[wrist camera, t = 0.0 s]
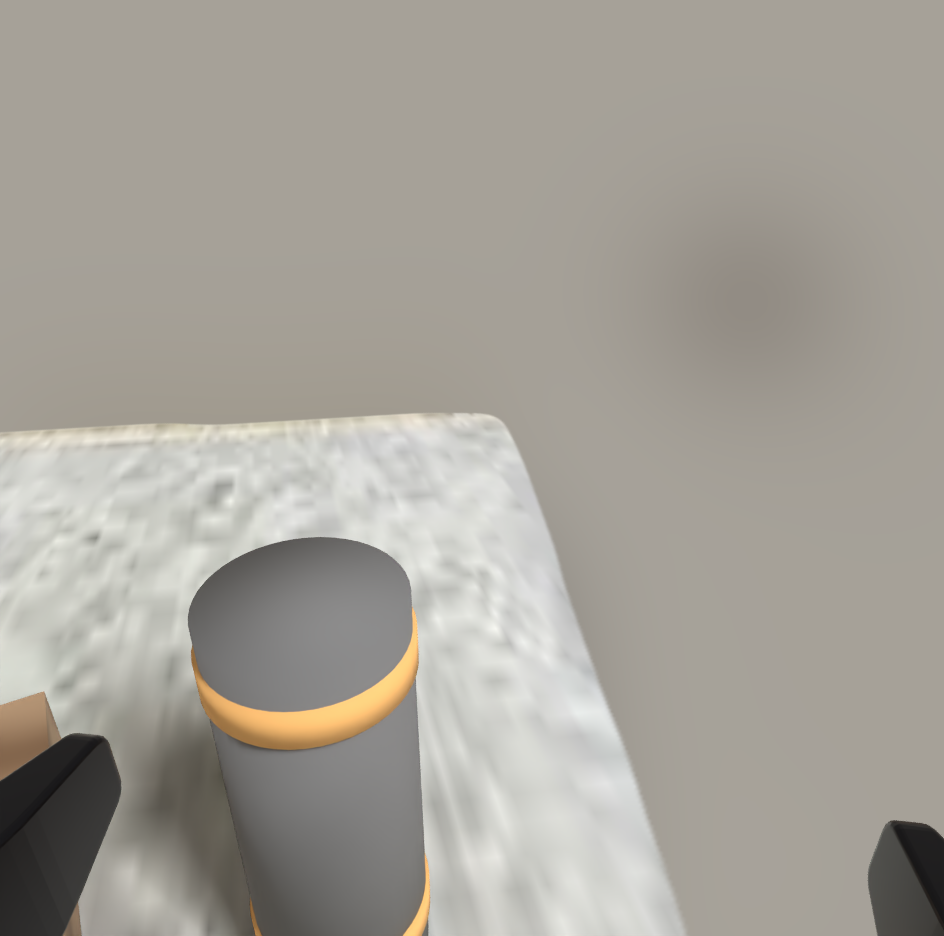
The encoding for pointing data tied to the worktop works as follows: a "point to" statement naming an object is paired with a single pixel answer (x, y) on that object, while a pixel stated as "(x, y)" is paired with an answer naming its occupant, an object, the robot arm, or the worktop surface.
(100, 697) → the worktop surface
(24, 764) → the robot arm
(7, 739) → the tan u-shaped stand
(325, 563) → the orange banded cylinder
